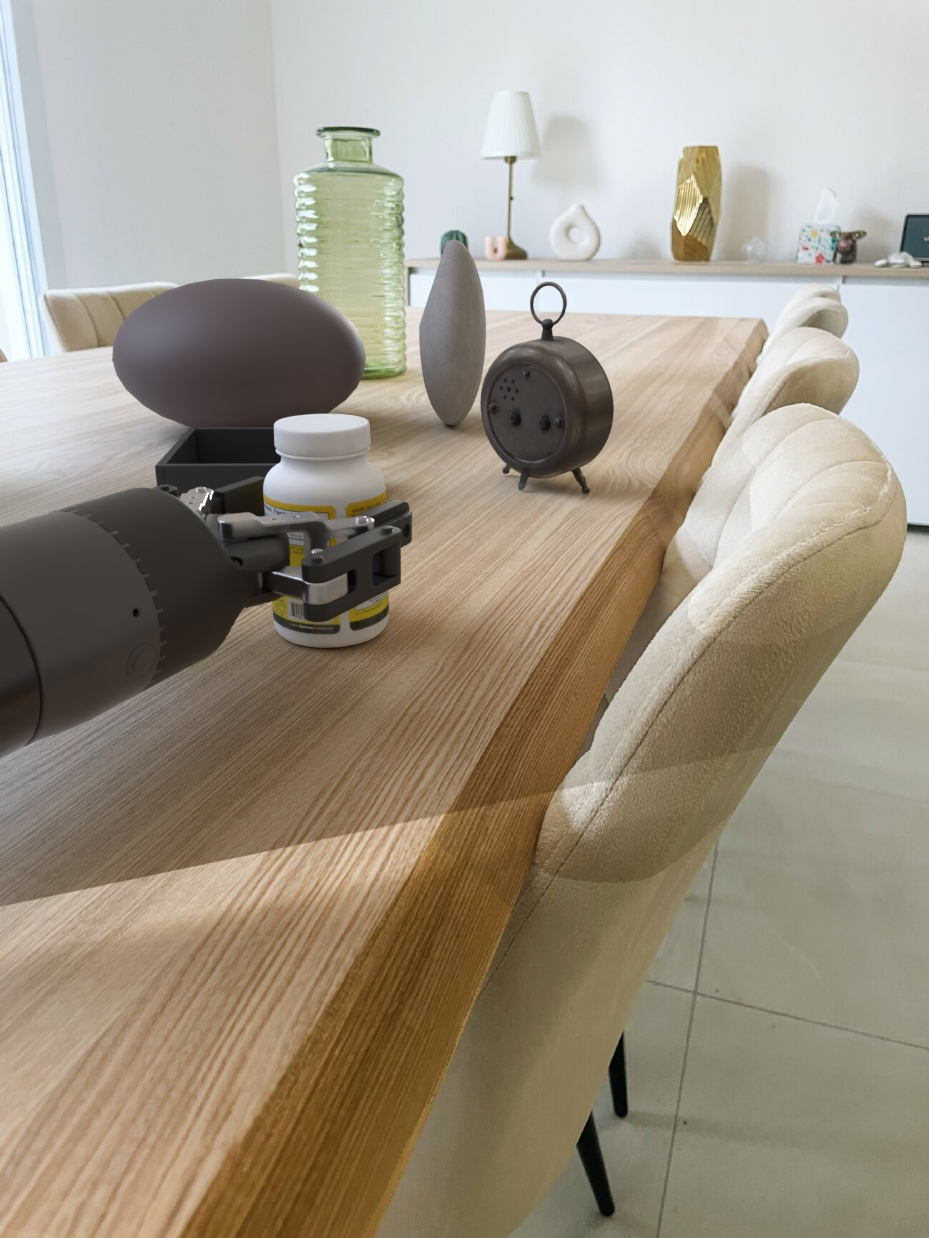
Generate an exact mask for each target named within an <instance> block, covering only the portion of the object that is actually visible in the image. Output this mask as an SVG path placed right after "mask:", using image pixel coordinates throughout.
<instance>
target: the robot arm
mask: <svg viewBox="0 0 929 1238" xmlns="http://www.w3.org/2000/svg"><path fill="white" fill-rule="evenodd" d="M264 480H265V478H264V477H258V476H255V477H252V478H249V479H246V480H243V481H240V482H237V483H234V484H231V485H228V486H224V487H221V488H218V489H215V490H213V489H210V488H205V487H196V488H195V489H191V490H189V491H188V493H182V494H181V496H178V493H177V487H175V486H169V485H159V486H158V487H157V486H154V487H152V488H151V487H133V488H128V489H124V490H121V491H117V492H114V493H111V494H107V495H103V496H101V497H97V498H94V499H90V500H87V501H83V502H80V503H76V504H73V505H70V506H67V507H63V508H59V509H56V510H52V511H48V512H46V513H43V514H39V515H35V516H32V517H28V518H26V519H25V518H24V519H21V520H19V521H15V522H12V523H9V524H5V525H2V526H0V760H1V759H3V758H5V757H7V756H9V755H10V754H13V753H14V752H16V751H18V750H21V748H25V747H27V746H29V745H31V744H34V743H36V742H39V741H40V740H43V739H46V738H48V737H51V736H54V735H57V734H61V733H63V732H65V731H68V730H71V729H73V728H77V727H79V726H80V725H83V724H85V723H87V722H89V721H91V720H93V719H95V718H96V717H98V716H100V715H102V714H103V713H106V712H107V711H110V710H112V709H113V708H115V707H117V706H118V705H119V706H120V705H121V704H123V703H124V702H126V701H128V700H130V699H132V698H134V697H136V696H138V695H139V694H141V693H144V692H145V691H147V690H149V689H151V688H152V687H154V686H156V685H158V684H160V683H162V682H164V681H166V680H167V679H169V678H171V677H174V676H175V675H176V674H179V673H181V672H183V671H185V670H186V669H188V668H190V667H192V666H194V665H196V664H197V663H199V662H201V661H203V660H205V659H206V658H208V657H210V656H211V655H213V654H214V653H215V652H216V651H217V650H218V649H219V648H220V647H221V646H222V644H224V642H225V641H226V640H227V637H228V635H229V633H230V632H231V630H232V629H233V626H234V624H235V623H236V620H237V619H238V618H239V617H240V614H241V613H242V612H243V611H244V610H245V609H247V608H254V607H259V606H262V605H264V604H268V603H272V601H275V600H277V599H279V598H280V597H286V596H288V597H292V598H295V599H299V600H302V601H303V607H304V618H305V620H307V621H310V622H325V621H329V620H331V619H333V618H335V617H337V616H339V615H341V614H343V613H345V612H346V611H348V610H350V609H352V608H354V607H356V606H358V605H360V604H362V603H364V602H366V601H368V600H370V599H372V598H374V597H376V596H378V595H380V594H382V593H383V592H385V591H387V590H391V589H393V588H395V587H397V586H399V585H400V584H401V583H402V549H403V548H404V547H406V546H408V545H409V544H411V542H412V541H413V511H410V504H409V502H408V501H404V500H398V499H391V500H389V501H386V503H384V504H382V505H380V506H377V507H375V508H373V509H370V510H368V511H366V512H364V513H361V514H359V515H357V516H355V517H351V518H342V519H333V520H322V519H321V518H320V517H319V516H318V515H317V514H316V513H314V512H312V511H307V512H297V513H288V514H278V515H269V516H265V509H264V497H263V484H264ZM213 491H214V493H213ZM293 532H303V538H304V557H305V558H303V559H302V560H301V566H290V547H289V537H288V535H287V533H293ZM343 536H348V540H346V541H344V542H341V543H339V544H336V545H334V546H332V547H329V548H327V542H328V541H329V540H330V539H331V538H335V537H343Z"/></svg>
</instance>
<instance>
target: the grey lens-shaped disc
mask: <svg viewBox="0 0 929 1238" xmlns="http://www.w3.org/2000/svg"><path fill="white" fill-rule="evenodd" d="M480 277H481V276H480V274H479V271H478V267H477V264H476V262H475V260H474V258H473V255H472V254H471V252H470V250H469V249H468V248H467V247H466V245H465V244H464V243H463V242H462V241H460V240H457V239H449V240H447V241H446V242H445V245H444V248H443V251H442V254H441V258H440V260H439V264H438V266H437V269H436V273H435V276H434V279H433V281H432V285H431V288H430V291H429V294H428V297H427V300H426V302H425V307H424V309H423V312H422V316H421V319H420V322H419V326H418V340H419V341H418V342H419V343H418V344H419V357H420V366H421V372H422V378H423V383H424V384H423V385H424V388H425V392H426V394H427V398H428V400H429V402H430V405H431V408H432V409H433V410H434V413H435V414H436V415H437V417H438V418H439V420H441V422H443V423H444V424H446V425H449V426H454V425H458V424H460V423H461V422H462V421H464V420H465V419H466V418H467V416H468V415H469V414H470V412H471V410H472V408H473V406H474V404H475V401H476V399H477V396H478V393H479V390H480V386H481V381H482V377H483V372H484V366H485V360H486V359H485V358H486V345H487V319H486V318H487V317H486V306H485V296H484V295H485V294H484V290H483V286H482V281H481V278H480Z"/></svg>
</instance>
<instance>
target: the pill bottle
mask: <svg viewBox="0 0 929 1238" xmlns="http://www.w3.org/2000/svg"><path fill="white" fill-rule="evenodd" d="M274 444H275V447H276V453H277V454H279V455H280V456H281V462H280V463H279V464H277V465H275V466H274V467H273V468H272V469H271V470H270V471H269V472H268V474H267V475H266V477H265V480H264V484H263V497H264V509H265V516H269V515H278V514H288V513H297V512H307V511H312V512H314V513H316V514H317V515H318V516H319V517H320V518H321V519H322V520H333V519H342V518H351V517H355V516H357V515H359V514H361V513H364V512H366V511H368V510H370V509H373V508H375V507H377V506H380V505H382V504H384V503H386V502H387V486H386V479H385V476H384V474H383V472H382V471H381V470H380V469H379V467H378V466H377V465H375V464H374V463H373V462H371V461H369V460H367V458H366V454H367V453H368V452H370V450H371V447H370V446H371V444H372V443H371V425H370V422H369V420H368V419H367V418H365V417H363V416H358V415H352V414H345V413H328V414H309V415H299V416H292V417H286V418H283V419H280V420H278V421H276V422H275V424H274ZM287 535H288V537H289V547H290V566H301V560H302V559H303V558H305V557H304V538H303V532H293V533H287ZM346 540H348V536H343V537H335V538H331V539H330V540H329V541H328V542H327V548H329V547H332V546H334V545H336V544H339V543H341V542H344V541H346ZM389 590H390V589H389ZM389 590H387V591H385V592H383V593H382V594H380V595H378V596H376V597H374V598H372V599H370V600H368V601H366V602H364V603H362V604H360V605H358V606H356V607H354V608H352V609H350V610H348V611H346V612H345V613H343V614H341V615H339V616H337V617H335V618H333V619H331V620H329V621H325V622H310V621H307V620H305V618H304V607H303V601H302V600H299V599H295V598H292V597H288V596H286V597H280V598H279V599H277V600H275V601H272V602H271V608H272V609H271V611H272V618H273V625H274V628H275V630H276V632H277V634H279V636H281V637H282V638H283V639H285V640H287V641H288V642H290V643H292V644H295V645H298V646H302V647H308V648H309V647H310V648H319V649H320V648H322V649H327V648H342V647H343V648H344V647H350V646H354V645H355V646H356V645H359V644H362V643H366V642H368V641H370V640H372V639H375V638H376V637H377V636H379V635H380V634H381V633H382V632H383V631H384V630H385V629H386V628H387V626H388V624H389V619H390V599H389V598H390V596H389V595H390V594H389V593H390V592H389Z"/></svg>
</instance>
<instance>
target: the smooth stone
mask: <svg viewBox="0 0 929 1238" xmlns="http://www.w3.org/2000/svg"><path fill="white" fill-rule="evenodd" d="M111 355H112V356H111V357H112V358H111V359H112V364H113V368H114V371H115V374H116V377H117V378H118V380H119V381H120V383H121V384H122V386H123V387H124V389H125V390H126V391H127V392H128V393H129V394H130V395H131V396H132V397H133V398H134V399H135V400H137V401H138V402H139V403H140V404H141V405H142V406H143V407H145V408H147V409H148V410H150V411H152V412H154V413H155V414H157V415H159V416H160V417H162V418H165V419H167V420H170V421H173V422H176V423H177V424H180V425H183V426H186V427H189V428H190V427H196V428H197V427H274V424H275V422H276V421H278V420H280V419H283V418H286V417H292V416H299V415H309V414H330V413H331V412H332V411H333V410H335V409H336V408H338V406H340V405H342V404H343V403H344V402H345V401H346V400H348V399H349V397H350V396H351V395H352V394H353V393H354V392H355V390H356V389H357V388H358V387H359V384H360V383H361V380H362V378H363V376H364V373H365V368H366V360H367V354H366V349H365V343H364V340H363V338H362V336H361V334H360V332H359V330H358V328H357V326H356V325H354V323H353V322H352V321H351V320H350V319H349V318H348V316H347V315H346V314H345V313H344V312H343V311H341V310H340V309H338V308H337V307H336V306H334V305H333V304H331V302H329V301H327V300H325V299H323V298H321V297H319V296H317V295H315V294H313V293H311V292H310V291H307V290H304V289H300V288H298V287H295V286H292V285H289V284H285V283H281V282H277V281H270V280H264V279H258V278H240V277H239V278H238V277H233V278H213V279H207V280H200V281H196V282H195V281H194V282H189V283H187V284H186V283H185V284H184V285H183V284H182V285H179V286H177V287H173V288H170V289H168V290H165V291H163V292H161V293H159V294H158V295H155V296H153V297H151V298H149V299H148V300H146V301H144V302H143V303H141V304H140V305H139V306H138V307H136V308H135V309H134V310H133V311H131V312H130V313H129V315H128V316H127V317H126V319H125V320H124V321H123V322H122V323H121V325H120V326H119V328H118V331H117V333H116V336H115V338H114V341H113V344H112V354H111Z"/></svg>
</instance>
